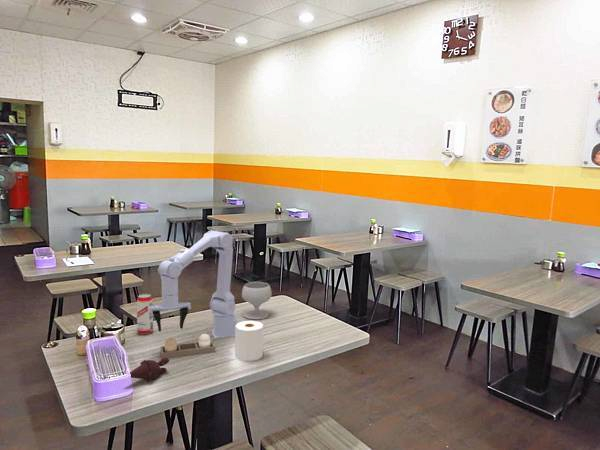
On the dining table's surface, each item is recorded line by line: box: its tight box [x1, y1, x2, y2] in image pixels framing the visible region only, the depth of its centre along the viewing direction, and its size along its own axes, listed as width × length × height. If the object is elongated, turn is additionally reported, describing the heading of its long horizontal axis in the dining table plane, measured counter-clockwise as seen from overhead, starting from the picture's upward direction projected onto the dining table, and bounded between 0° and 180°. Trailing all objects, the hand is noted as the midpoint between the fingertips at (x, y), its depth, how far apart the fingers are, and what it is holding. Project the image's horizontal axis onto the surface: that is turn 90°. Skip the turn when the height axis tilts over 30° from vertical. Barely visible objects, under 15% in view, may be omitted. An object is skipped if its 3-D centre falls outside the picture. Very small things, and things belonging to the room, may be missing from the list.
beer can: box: [136, 293, 154, 336], centre depth 183 cm, size 6×6×16 cm
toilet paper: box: [234, 320, 264, 362], centre depth 163 cm, size 10×10×12 cm
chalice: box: [241, 281, 273, 320], centre depth 207 cm, size 14×14×15 cm
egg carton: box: [159, 339, 216, 360], centre depth 165 cm, size 20×7×2 cm, turn 112°
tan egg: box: [164, 337, 178, 353], centre depth 162 cm, size 4×4×6 cm
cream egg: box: [198, 333, 211, 348], centre depth 167 cm, size 4×4×6 cm
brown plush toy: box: [129, 358, 170, 383], centre depth 143 cm, size 7×7×15 cm
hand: (170, 329), depth 161 cm, fingers open, 7 cm apart
